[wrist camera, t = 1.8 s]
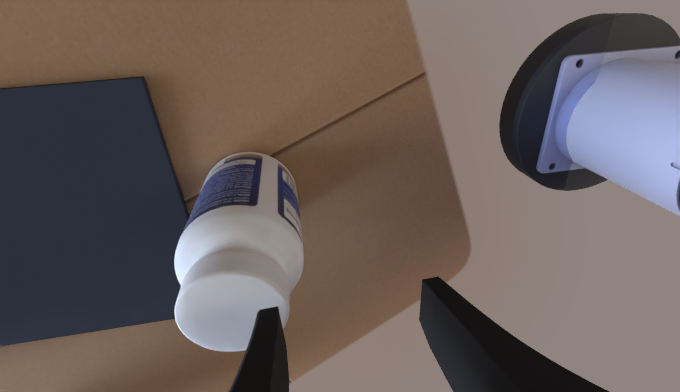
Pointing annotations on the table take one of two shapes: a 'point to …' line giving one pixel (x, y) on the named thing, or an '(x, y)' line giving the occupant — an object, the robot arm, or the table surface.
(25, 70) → the table surface
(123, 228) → the mat
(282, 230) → the pill bottle
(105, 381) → the table surface
